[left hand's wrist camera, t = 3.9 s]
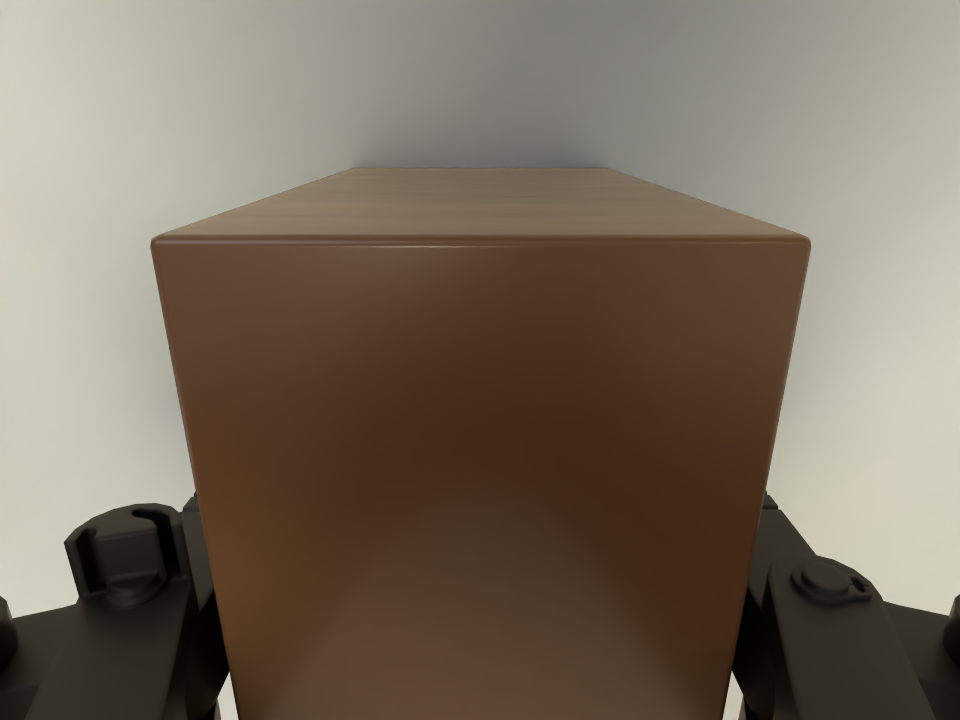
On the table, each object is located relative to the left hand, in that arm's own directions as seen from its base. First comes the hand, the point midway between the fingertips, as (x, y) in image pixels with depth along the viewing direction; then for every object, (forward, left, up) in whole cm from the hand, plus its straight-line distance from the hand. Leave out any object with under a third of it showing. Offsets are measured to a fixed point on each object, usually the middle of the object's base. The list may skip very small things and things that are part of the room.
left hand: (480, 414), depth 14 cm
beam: (+30, +6, -1) cm, 31 cm away
